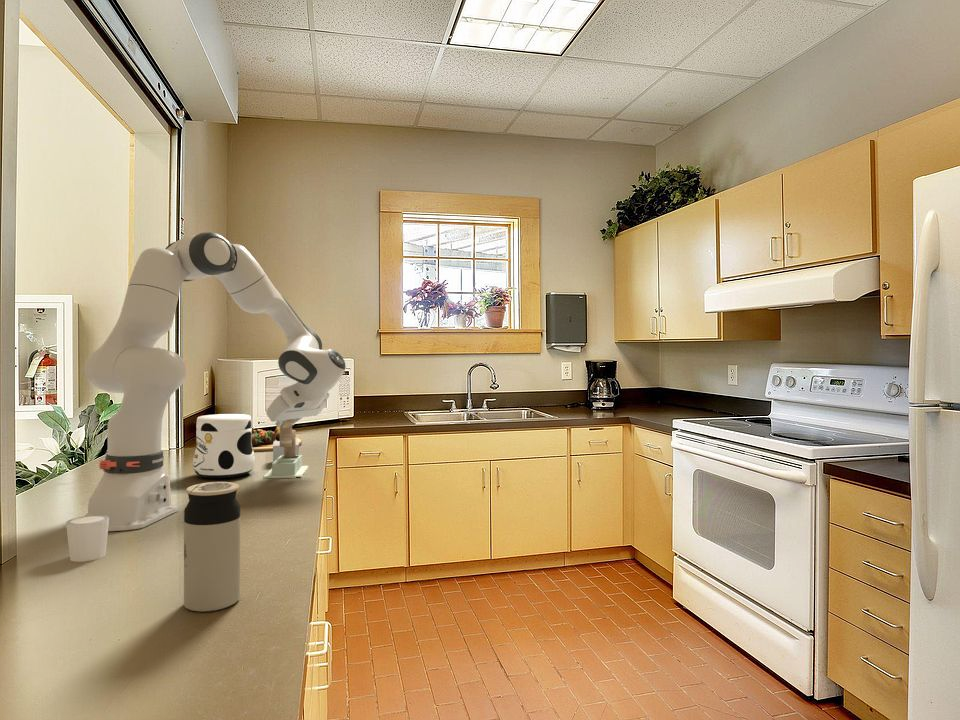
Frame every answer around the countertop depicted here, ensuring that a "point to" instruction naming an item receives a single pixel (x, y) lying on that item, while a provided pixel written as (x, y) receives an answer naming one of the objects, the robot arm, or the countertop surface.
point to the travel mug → (211, 547)
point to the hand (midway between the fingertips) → (284, 424)
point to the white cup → (87, 537)
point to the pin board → (287, 463)
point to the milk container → (223, 446)
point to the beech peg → (286, 434)
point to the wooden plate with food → (266, 440)
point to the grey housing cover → (281, 449)
